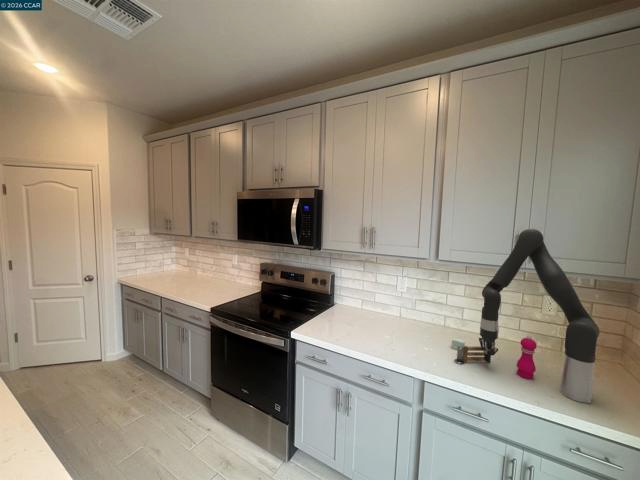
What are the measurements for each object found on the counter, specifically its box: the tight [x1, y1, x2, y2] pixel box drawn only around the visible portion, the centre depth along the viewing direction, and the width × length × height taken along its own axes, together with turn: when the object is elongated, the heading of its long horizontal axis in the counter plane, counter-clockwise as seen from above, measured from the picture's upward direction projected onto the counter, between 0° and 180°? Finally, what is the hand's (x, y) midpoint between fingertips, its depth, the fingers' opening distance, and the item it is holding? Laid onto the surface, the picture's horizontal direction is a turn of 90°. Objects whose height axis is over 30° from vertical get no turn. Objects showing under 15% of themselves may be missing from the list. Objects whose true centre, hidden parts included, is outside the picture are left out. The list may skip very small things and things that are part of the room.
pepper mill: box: [516, 334, 537, 380], centre depth 128 cm, size 7×7×20 cm
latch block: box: [451, 337, 466, 350], centre depth 153 cm, size 6×3×5 cm, turn 52°
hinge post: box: [454, 346, 465, 366], centre depth 139 cm, size 4×4×8 cm
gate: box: [462, 345, 492, 363], centre depth 139 cm, size 14×2×8 cm, turn 92°
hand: (486, 360), depth 136 cm, fingers closed
